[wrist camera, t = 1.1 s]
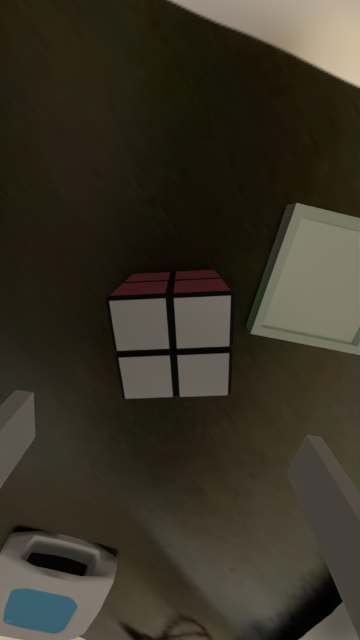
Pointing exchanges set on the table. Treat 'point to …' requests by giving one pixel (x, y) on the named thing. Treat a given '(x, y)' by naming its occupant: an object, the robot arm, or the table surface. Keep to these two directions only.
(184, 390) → the puzzle cube
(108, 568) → the step stool
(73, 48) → the table surface
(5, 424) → the robot arm
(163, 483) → the table surface
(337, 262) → the baseplate
